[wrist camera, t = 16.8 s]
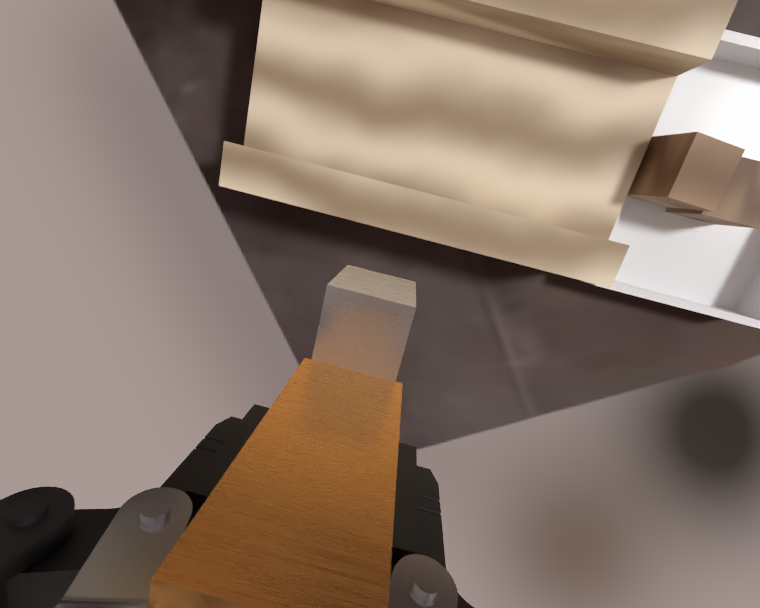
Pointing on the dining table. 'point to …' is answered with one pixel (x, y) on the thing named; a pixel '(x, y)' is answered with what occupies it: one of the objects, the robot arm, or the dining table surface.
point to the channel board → (468, 117)
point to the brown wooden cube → (685, 171)
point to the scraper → (310, 473)
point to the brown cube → (734, 199)
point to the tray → (689, 236)
